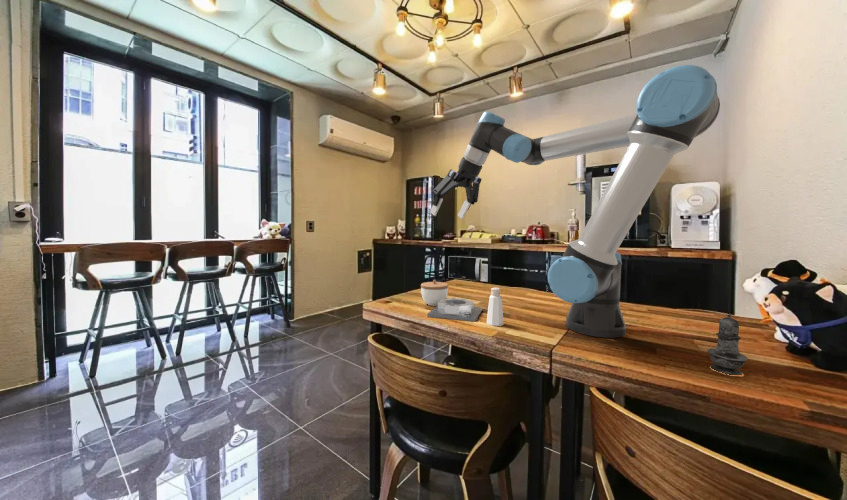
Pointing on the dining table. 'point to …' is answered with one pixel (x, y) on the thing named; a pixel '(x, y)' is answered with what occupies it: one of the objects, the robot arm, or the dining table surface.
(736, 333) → the grey stone tiered piece
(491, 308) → the salt shaker
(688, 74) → the robot arm
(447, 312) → the grey ashtray on slab
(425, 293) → the lidded jar
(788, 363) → the dining table surface
